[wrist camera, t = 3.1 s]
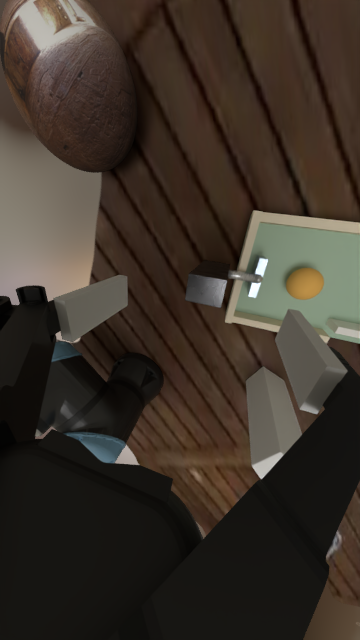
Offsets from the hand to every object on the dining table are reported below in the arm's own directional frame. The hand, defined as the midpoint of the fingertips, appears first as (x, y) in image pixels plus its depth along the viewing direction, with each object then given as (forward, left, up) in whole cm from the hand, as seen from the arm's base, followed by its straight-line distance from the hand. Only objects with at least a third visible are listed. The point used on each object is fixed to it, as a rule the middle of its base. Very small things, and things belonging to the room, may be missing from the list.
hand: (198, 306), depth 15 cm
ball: (+14, 0, -19) cm, 24 cm away
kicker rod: (+3, 0, -21) cm, 21 cm away
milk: (+16, -24, -23) cm, 37 cm away
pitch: (+16, 0, -23) cm, 28 cm away
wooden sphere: (-22, +19, -23) cm, 37 cm away
